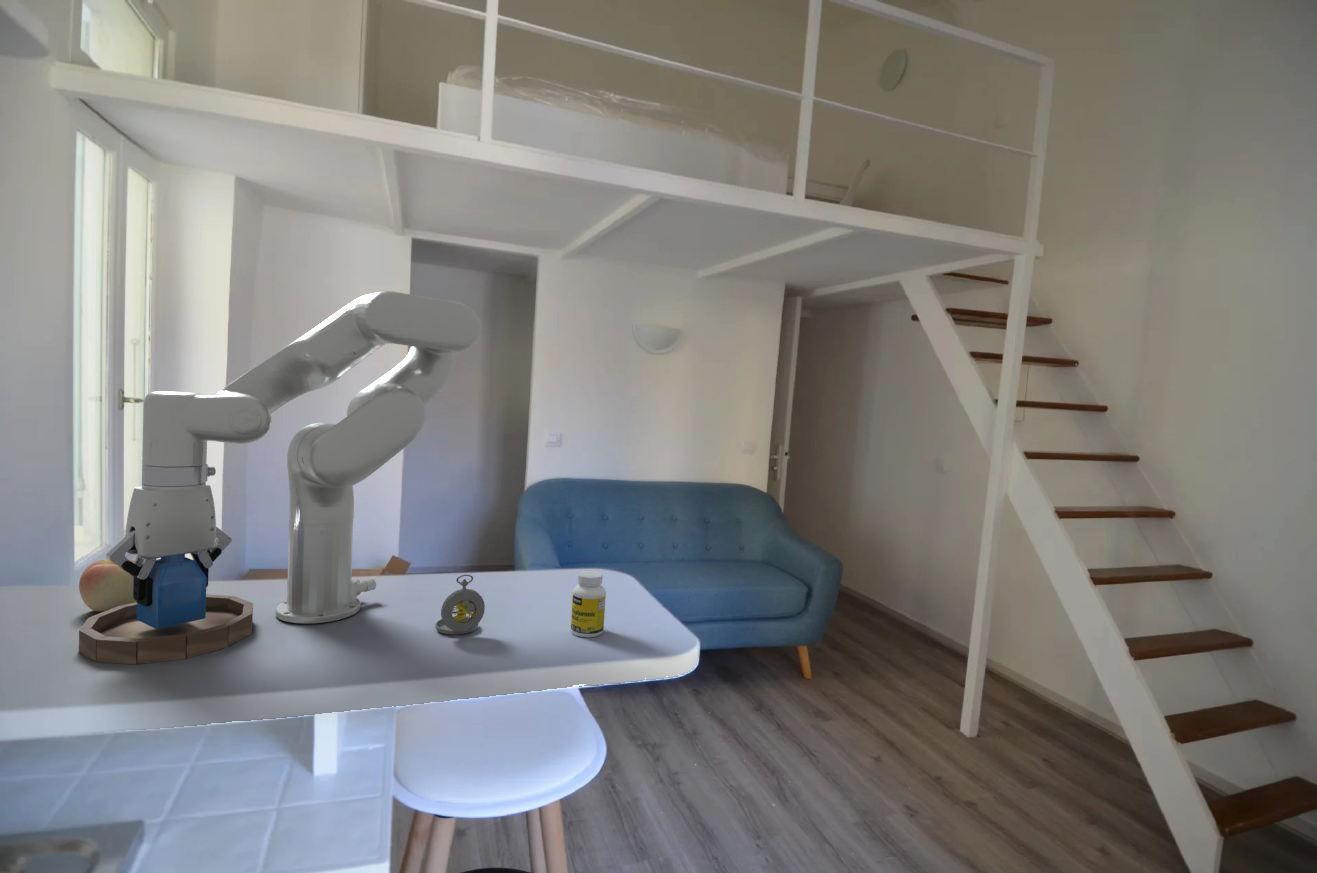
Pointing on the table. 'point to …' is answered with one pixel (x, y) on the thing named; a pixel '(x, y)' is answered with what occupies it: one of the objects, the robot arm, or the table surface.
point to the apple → (106, 586)
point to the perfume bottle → (175, 593)
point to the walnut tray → (164, 633)
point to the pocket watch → (461, 611)
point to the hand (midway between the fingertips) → (171, 597)
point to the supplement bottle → (588, 605)
